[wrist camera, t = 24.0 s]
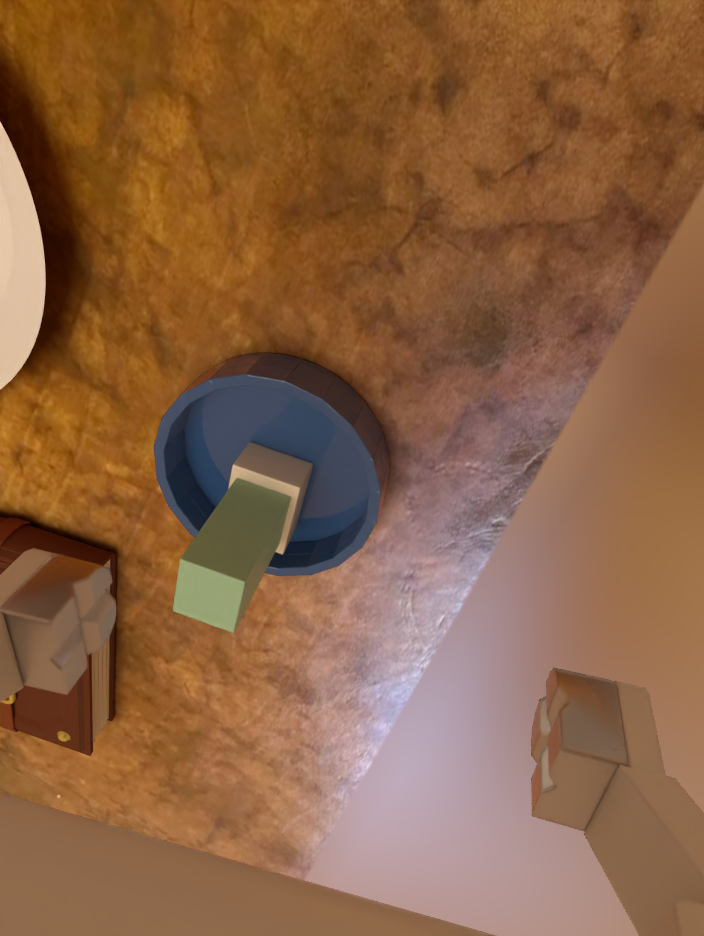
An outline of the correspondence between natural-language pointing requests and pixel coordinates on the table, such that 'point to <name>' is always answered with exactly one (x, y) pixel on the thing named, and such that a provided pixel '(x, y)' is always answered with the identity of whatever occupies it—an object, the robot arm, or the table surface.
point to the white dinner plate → (18, 265)
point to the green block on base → (241, 536)
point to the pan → (284, 430)
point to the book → (93, 693)
